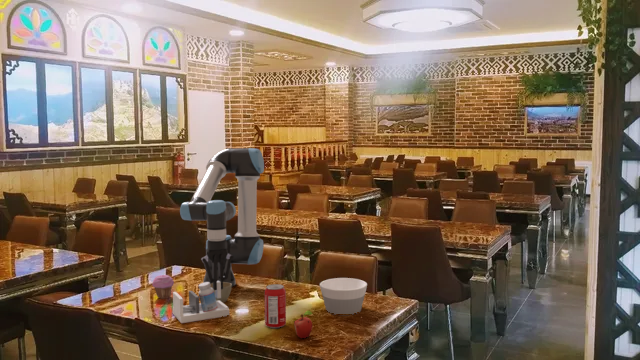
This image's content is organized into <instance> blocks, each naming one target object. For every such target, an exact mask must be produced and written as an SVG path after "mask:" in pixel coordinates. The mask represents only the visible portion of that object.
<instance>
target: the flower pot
mask: <svg viewBox="0 0 640 360" xmlns="http://www.w3.org/2000/svg"><path fill="white" fill-rule="evenodd" d="M232 287H233V286H232V284H231V283H227V282H223V289H221V298H218V299H217V298H216V297H215V298H216V301H218V300H220V301H221V302H222V303H226V302H227V300H228V299H229V296H230V294H231V291H232ZM211 288H213V283H212V284H211ZM213 290H214V289H213ZM214 294H215V290H214Z"/></svg>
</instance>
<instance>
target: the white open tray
mask: <svg viewBox="0 0 640 360" xmlns="http://www.w3.org/2000/svg"><path fill="white" fill-rule="evenodd" d="M216 302H217V306H218V308H217V310H215V311H209V312H203V310H202V306H201V302H199V313H196V314H192V313H191V312H190V311H184V312H183V308H186V307H189V304H188V305H187V304H186V305H184V299H183V297H182V296H181V295H180V294H179V293H178V292H177V291H173V292H172V306H173V307H172V314H173V316H174V317H175V318H176V319H177V320H178V321H179V322H180V323H181V324H185V323H191V322H198V321H204V320H211V319H216V318H221V317H222V316H223V317H227V315H229V316H230V309H229V306H227V305H226V304H225V302H223V303H222V302H221V301H220V300H218V301H216Z"/></svg>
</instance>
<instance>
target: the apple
mask: <svg viewBox="0 0 640 360" xmlns="http://www.w3.org/2000/svg"><path fill="white" fill-rule="evenodd" d="M311 315H313V312H312V311H311V310H306V311H305V312H304V313H302V314H300V317H299V318H298V319H296V320H295V321H293V323H294V324H293V325H294V330H295V334H296V336H297V337H298V338H299V339H302V338H304V339H307V338H309V337H310V335H311V333H312V330H313V322H312V320H311V319H310V318H309V317H307V316H311ZM306 337H307V338H306Z"/></svg>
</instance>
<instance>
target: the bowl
mask: <svg viewBox="0 0 640 360" xmlns="http://www.w3.org/2000/svg"><path fill="white" fill-rule="evenodd" d="M367 286H368V283H367V282H366V281H364V280H361V279H359V278H352V277H351V278H350V277H349V278H348V277H337V278H336V277H334V278H328V279H326V280H323V281H321V282H319V288H320V291H321V296H322V298H323V304H324V307H325V310H327V311H328V313H329V312H330V313H329V314H331V313H334V314H333V315H336V314H352V315H355V314H354V313H356V314H358V313H357V312H359V313H360V312H361V311H362V307H363V303H364V299H365V296H366V291H367V288H368V287H367ZM327 311H326V312H327Z"/></svg>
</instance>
